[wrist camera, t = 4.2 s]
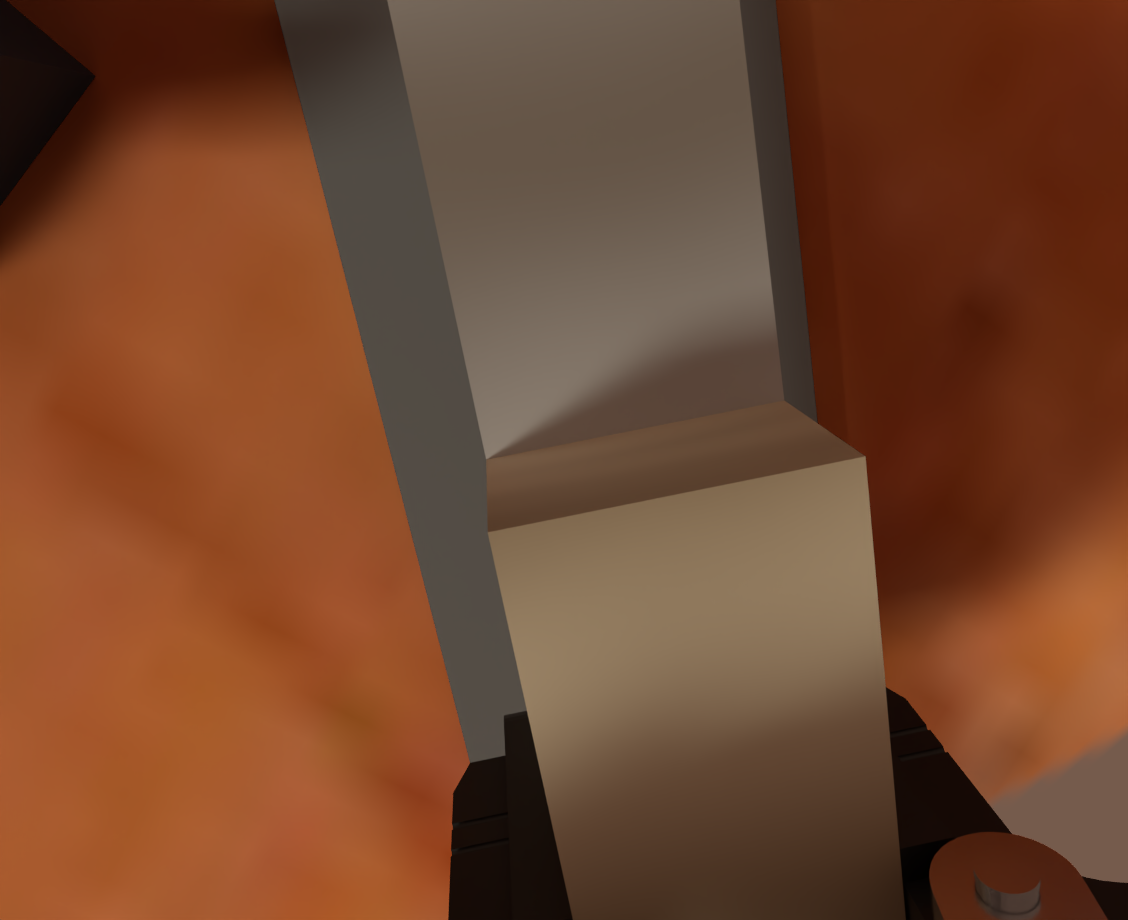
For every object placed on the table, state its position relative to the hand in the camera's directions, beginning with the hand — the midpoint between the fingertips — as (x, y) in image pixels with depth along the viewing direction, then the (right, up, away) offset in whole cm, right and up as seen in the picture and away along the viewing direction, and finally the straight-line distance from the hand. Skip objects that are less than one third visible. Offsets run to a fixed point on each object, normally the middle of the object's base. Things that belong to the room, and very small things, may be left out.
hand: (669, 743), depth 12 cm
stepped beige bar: (0, +3, +1) cm, 3 cm away
